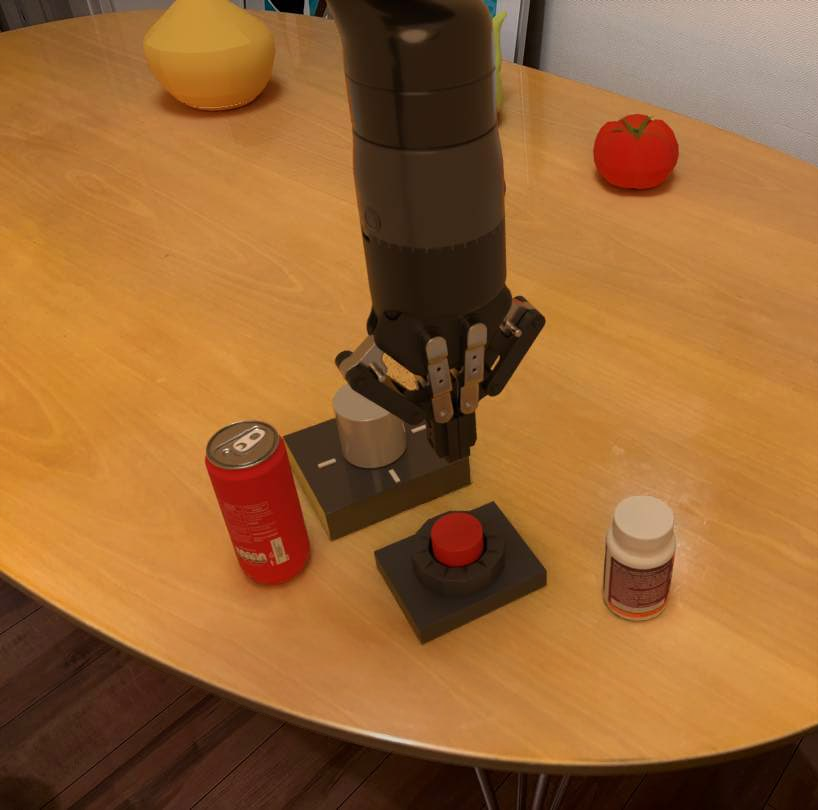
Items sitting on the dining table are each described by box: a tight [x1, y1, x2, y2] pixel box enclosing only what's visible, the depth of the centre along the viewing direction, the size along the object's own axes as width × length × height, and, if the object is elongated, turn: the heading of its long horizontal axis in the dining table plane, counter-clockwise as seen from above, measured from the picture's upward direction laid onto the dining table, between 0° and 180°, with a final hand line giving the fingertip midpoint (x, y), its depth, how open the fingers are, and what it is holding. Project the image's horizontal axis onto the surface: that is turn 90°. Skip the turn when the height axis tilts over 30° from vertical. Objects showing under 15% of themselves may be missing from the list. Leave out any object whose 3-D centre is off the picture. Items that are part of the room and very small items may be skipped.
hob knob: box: [332, 383, 407, 468], centre depth 69 cm, size 5×5×5 cm
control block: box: [373, 500, 548, 645], centre depth 64 cm, size 10×8×4 cm
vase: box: [142, 0, 277, 112], centre depth 128 cm, size 18×18×19 cm
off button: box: [431, 513, 483, 567], centre depth 62 cm, size 4×4×2 cm
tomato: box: [592, 113, 680, 190], centre depth 111 cm, size 11×11×8 cm
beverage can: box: [204, 419, 311, 586], centre depth 62 cm, size 5×5×12 cm
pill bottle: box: [602, 494, 677, 622], centre depth 61 cm, size 5×5×8 cm
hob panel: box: [282, 388, 472, 541], centre depth 72 cm, size 12×10×3 cm
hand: (452, 452), depth 57 cm, fingers closed
